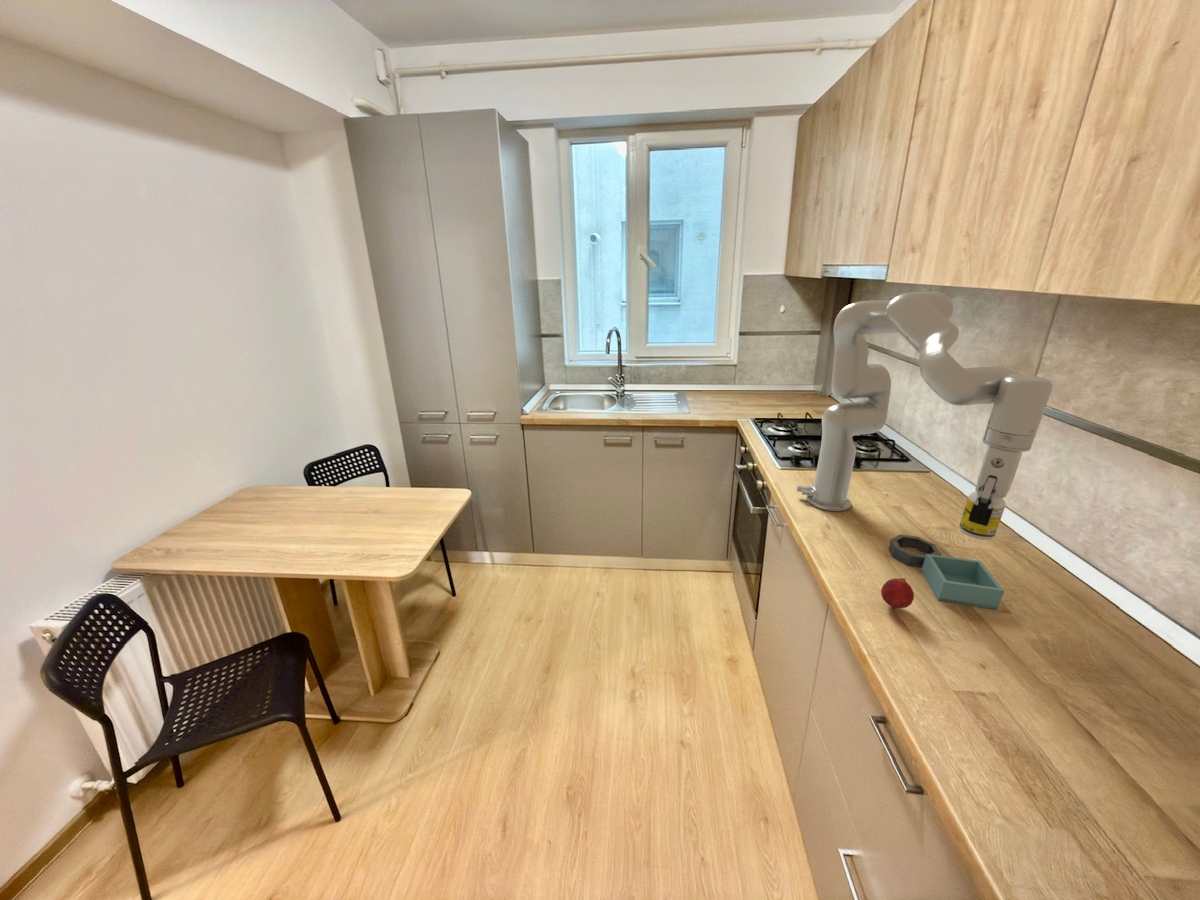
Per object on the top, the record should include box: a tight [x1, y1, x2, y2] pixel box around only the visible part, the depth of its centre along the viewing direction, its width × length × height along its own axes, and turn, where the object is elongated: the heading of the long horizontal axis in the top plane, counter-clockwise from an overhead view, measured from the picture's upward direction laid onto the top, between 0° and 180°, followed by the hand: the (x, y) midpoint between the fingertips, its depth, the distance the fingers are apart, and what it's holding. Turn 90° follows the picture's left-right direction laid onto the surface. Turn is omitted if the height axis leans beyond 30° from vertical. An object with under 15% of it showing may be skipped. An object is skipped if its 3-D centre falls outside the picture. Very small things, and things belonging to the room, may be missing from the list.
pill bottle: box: [958, 487, 1006, 541], centre depth 99 cm, size 6×6×11 cm
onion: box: [880, 576, 915, 610], centre depth 99 cm, size 6×6×8 cm
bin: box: [920, 554, 1005, 611], centre depth 105 cm, size 11×11×5 cm
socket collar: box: [887, 533, 942, 569], centre depth 118 cm, size 10×10×3 cm
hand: (981, 516), depth 99 cm, fingers closed on pill bottle, 6 cm apart
